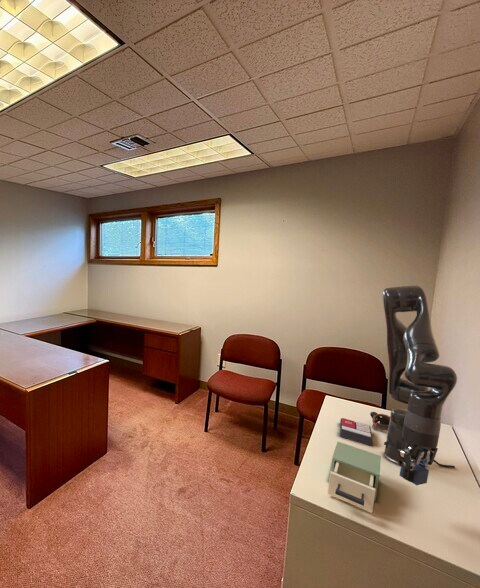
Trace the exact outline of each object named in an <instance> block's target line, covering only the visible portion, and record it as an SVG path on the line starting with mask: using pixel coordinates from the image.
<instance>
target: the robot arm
mask: <svg viewBox="0 0 480 588" xmlns="http://www.w3.org/2000/svg"><path fill="white" fill-rule="evenodd" d="M381 295H382V296H381V299H382V306H383V313H384V319H385V325H386V327H385V328H386V349H387V356H388V367H389V369H388V371H389V372H388V373H389V374H388V395H389V397H390V399H391V400H393V401H395V402H398V403H401V404H404V405H407V408H393V409H391V411H390V415H389V416H390V421H389V428H388V430H387V435H386V439H385V440H386V441H384V442H383V446H385V447H384V451H383V457H385V458H386V459H387V460H388V461H390V462H391V463H394V464H396V465H398V466H399V467H400V468H401V467H403V468H404V470H403V476H402V477H401V478H402V479H404V480H405V481H407V482H410V483H412V481H413V475H414V469H415V467H416V465H420V466H422V467H424V468H426V469H428V467H429V466H432V465H433V463H435V464H436V465H437V466H439V467H443V468H451V469H452V468H454V469H455V468H456V466H455V465H452V464H442V463H440V462H438V461H437V460H436V459H435V458H436V455H437V452H438V444H439V438H440V433H441V426H442V413H443V408H444V405H445V402H446V401H447V400H448V397H449V396H450V394H451V393H452V391H453V390H454V389H455V387H456V386H457V383H458V376H457V373H456V370H454V369H453V368H452V367H450V366H448V365H443V364H437V363H433V362H436V361H438V360H439V358H440V351H439V348H438V345H437V343H436V339H435V337H434V333H433V327H432V319H431V318H432V317H431V313H430V312H431V311H430V307H429V301H428V300H429V299H428V295H427V293H426V291H425V289H424V288H423V287H422V286H420V285H404V286H393V287H386V288H384V289H383V290H382V294H381ZM397 313H416V314H415V317H414V319H413V320H412V321H411V323H409V325H408V326H407V325H406V324H404V323H403V321H402V320H401V319H400V317H398V315H397ZM404 377H405V379H404ZM410 462H411V463H412V465H410Z"/></svg>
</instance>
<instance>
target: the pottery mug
mask: <svg viewBox="0 0 480 588" xmlns="http://www.w3.org/2000/svg"><path fill="white" fill-rule="evenodd" d="M369 415H370V417H371V420H372V425H371V428H372V429H373V430H376V429H377V430H381V431H388V428H389V421H390V415H388V414H385V413H378V412H376V411H371V412H370V413H369Z"/></svg>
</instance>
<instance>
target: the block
mask: <svg viewBox="0 0 480 588" xmlns="http://www.w3.org/2000/svg"><path fill="white" fill-rule="evenodd" d="M410 465H412V463H411V462H410ZM403 470H404V468H403V467H401V466H400V471H399V477H401V478H403V477H402V476H403ZM429 471H430V469H428V468H424V467H422V466H420V465H416V467H415V469H414V475H413V481H412V482H411V483H412V484H414V485H415V486H420V485H424V484H425V485H426V484H427V483H428V479H429V474H430V473H429Z"/></svg>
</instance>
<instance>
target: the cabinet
mask: <svg viewBox="0 0 480 588" xmlns="http://www.w3.org/2000/svg"><path fill="white" fill-rule="evenodd" d="M381 459H382V457H381V455H379V454H378V453H373V452H370V451H368V450H364V449H361V448H359V447H356V446H353V445H349V444H347V443H344V442H341V441H339V440H338V441H337V442H336V445H335V448H334V451H333V454H332V457H331V464H330V471H329V472H331V471H332V472H334V469H335V465H336V462H340V463H343V464H345V465H348V466H351V467H353V468H356V469H359V470H361V471H364V472H367V473H370V474H372V475H374V480H373V488H375V489H376V491H375V498H374V502H376V499H377V494H378V488H379V482H380V473H381ZM329 479H330V477H329ZM329 479H328V480H329Z"/></svg>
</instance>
